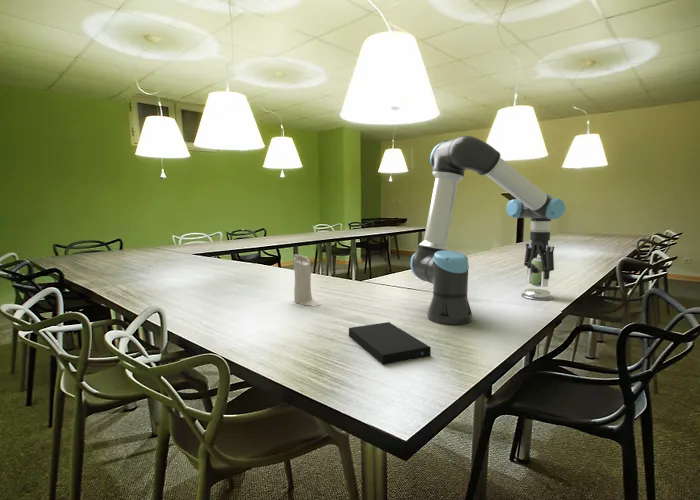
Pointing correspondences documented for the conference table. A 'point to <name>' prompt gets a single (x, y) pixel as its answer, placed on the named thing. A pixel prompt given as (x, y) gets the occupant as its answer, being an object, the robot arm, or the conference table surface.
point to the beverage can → (536, 272)
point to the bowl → (537, 294)
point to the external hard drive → (388, 343)
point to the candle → (303, 281)
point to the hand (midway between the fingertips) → (537, 284)
